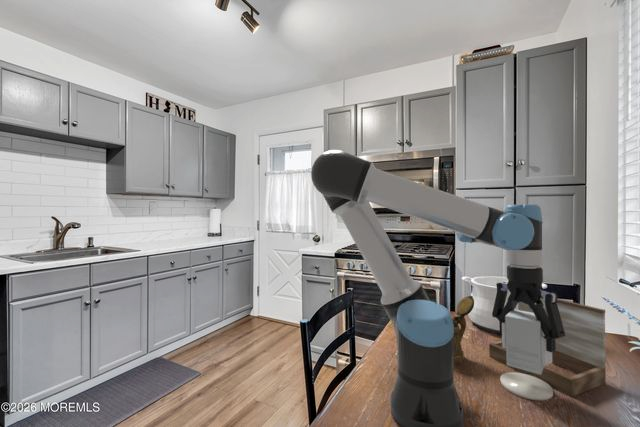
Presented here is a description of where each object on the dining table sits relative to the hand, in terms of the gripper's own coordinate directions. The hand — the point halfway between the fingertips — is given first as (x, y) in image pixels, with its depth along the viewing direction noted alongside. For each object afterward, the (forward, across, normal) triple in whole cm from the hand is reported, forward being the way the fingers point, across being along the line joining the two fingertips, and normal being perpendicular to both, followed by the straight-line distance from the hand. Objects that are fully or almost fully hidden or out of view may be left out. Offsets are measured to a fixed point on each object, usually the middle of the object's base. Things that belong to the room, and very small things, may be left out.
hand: (525, 354), depth 77 cm
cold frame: (+8, +4, -13) cm, 16 cm away
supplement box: (+3, 0, 0) cm, 3 cm away
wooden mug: (+8, +20, +3) cm, 22 cm away
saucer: (+8, 0, 0) cm, 8 cm away
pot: (+9, +31, -33) cm, 46 cm away
